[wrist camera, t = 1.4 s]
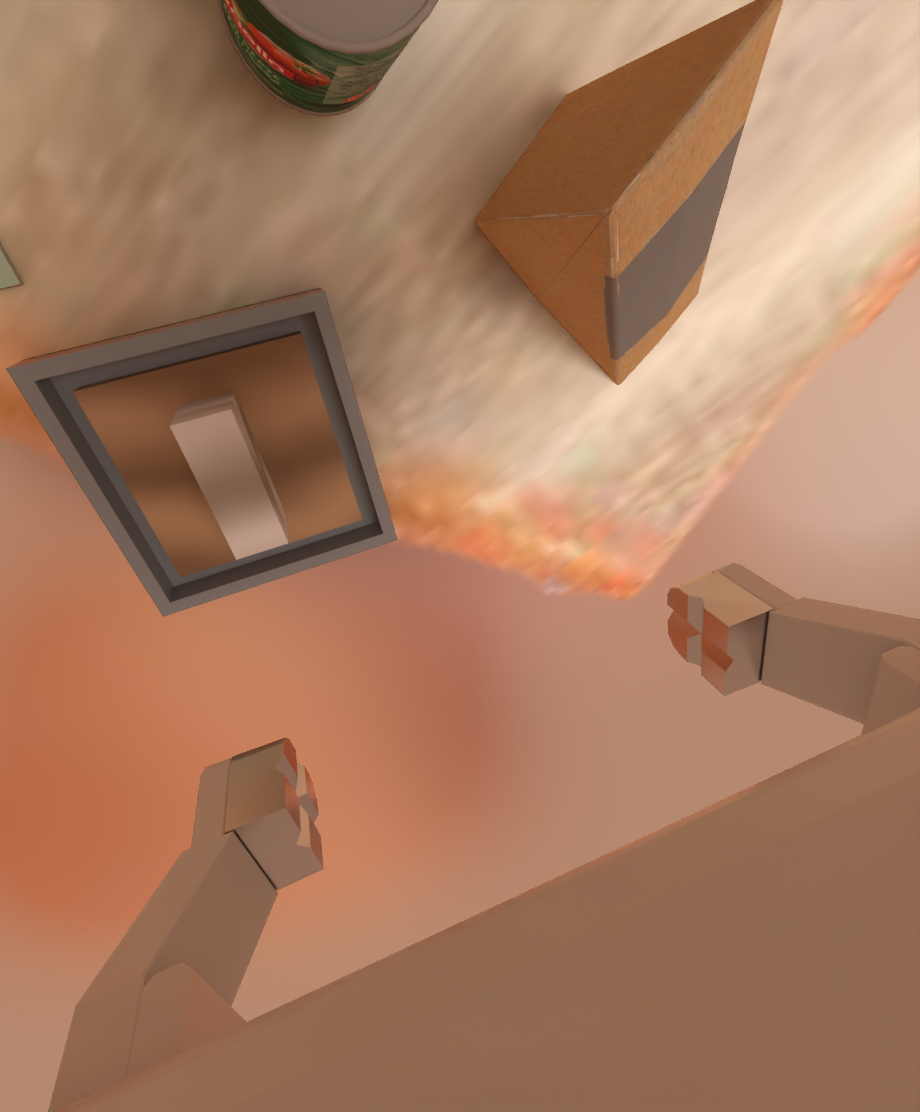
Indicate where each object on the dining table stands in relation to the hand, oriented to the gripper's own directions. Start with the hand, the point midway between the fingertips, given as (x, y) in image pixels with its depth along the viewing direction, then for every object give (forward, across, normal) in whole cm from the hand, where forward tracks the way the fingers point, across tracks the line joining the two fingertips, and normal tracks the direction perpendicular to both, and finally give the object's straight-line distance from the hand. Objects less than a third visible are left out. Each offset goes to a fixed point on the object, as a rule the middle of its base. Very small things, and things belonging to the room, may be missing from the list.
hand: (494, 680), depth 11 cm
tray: (+27, +7, +1) cm, 28 cm away
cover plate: (+27, +7, +1) cm, 28 cm away
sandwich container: (+27, -18, -4) cm, 33 cm away
